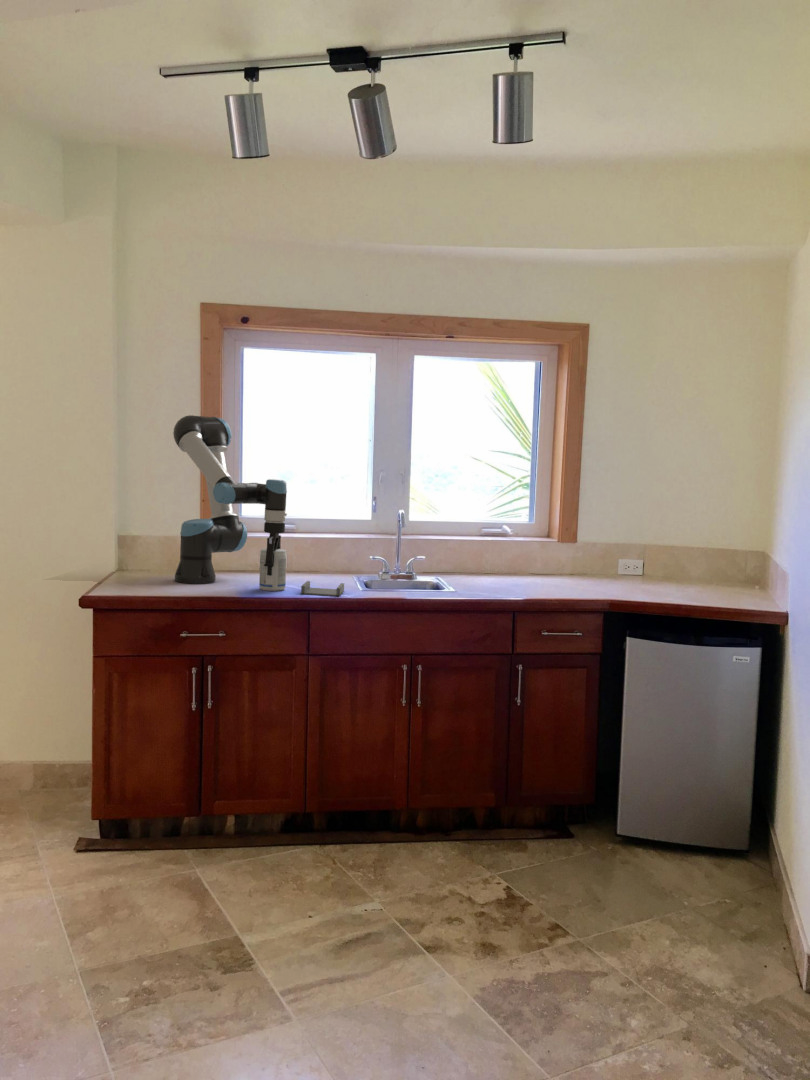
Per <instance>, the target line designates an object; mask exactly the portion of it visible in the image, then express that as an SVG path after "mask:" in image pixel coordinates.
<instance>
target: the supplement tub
mask: <svg viewBox="0 0 810 1080" xmlns="http://www.w3.org/2000/svg"><path fill="white" fill-rule="evenodd" d="M266 551H267V548H261V549H260V555H259V582H258V587H259V589H260V590H262V591H267V592H269V591H271V592H279V591H280V592H281V591H283V590H285V589H286V584H287V583H286V579H287V575H286V574H287V573H286V572H287V550H286V549H284V548H281V549H277V550H276V551H274V583H273V585H272V584H266V566H264V564H265V562H266Z"/></svg>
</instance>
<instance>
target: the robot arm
mask: <svg viewBox="0 0 810 1080" xmlns="http://www.w3.org/2000/svg"><path fill="white" fill-rule="evenodd" d="M172 433H173V439H174V442H175V444H176V445H177V447H178V448H179V450H181V451H182V452H183V453H186V454H187V455H188V456H189V458H190V459H191V461H192V462H193V463H194V464H195V465H196V467H197V468H198V469H199V471H200V472H201V473H202V475H203V476H204V478H205V482H206V488H207V495H208V501H209V508H210V512H211V513H210V514H211V515H210V517H209V518H194V519H193V518H192V519H188V520H185V521H183V522H182V523H181V527H180V534H179V535H180V549H179V550H180V551H179V553H180V555H179V556H180V557H179V559H180V560H179V562H178V565H177V567H176V570H175V574H174V582H176V583H183V584H191V585H192V584H194V585H195V584H196V585H197V584H200V585H201V584H213V583H215V582H216V579H217V577H216V572H215V568H214V566H213V563H212V555H213V554H214V553H216V554H217V553H233V552H238V551H240V550H242V549H243V548H244V546H245V544H246V543H247V540H248V529H247V526H246V525H245V523H243V522H242V521H240V519H239V518H240V517H239V515H238V514H237V513H236V512H235V511H234V507H233V505H234V504H247V505H248V504H249V505H250V504H253V505H255V504H257V505H264V506H265V507H264V517H263V518H264V519H263V520H264V524H263V525H264V526H263V531H264V533H268V534H269V537H267V538H266V543H267V544H266V549H267V551H266V562H265V564H264V566H266V584H272V585H273V583H274V551H276V550H277V549H282V548H281V542H282V541H281V539H282V535H281V534H284V533H285V531H286V524H285V521H286V517H287V515H288V513H286V505H287V492H288V489H287V482H286V480H283V479H271V478H270V479H266V481H265V483H258V482H246V483H245V482H240V483H239V482H236V481H235V479H234V478H233V477H232V476H231V475H230V474H229V472H228V469H227V468H228V466H227V462H226V457H225V454H226V452H227V450H228V446H229V445H230V443H231V441H232V430H231V427H230V425H229V423H228V421H226V420H225V419H223V418H220V417H216V416H201V415H191V414H190V415H185V416H183V417H182V418H180V419H178V420H177V422H176V424H174V428H173V432H172ZM212 553H213V554H212Z"/></svg>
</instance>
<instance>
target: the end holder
mask: <svg viewBox="0 0 810 1080" xmlns="http://www.w3.org/2000/svg"><path fill="white" fill-rule="evenodd" d="M300 588H301V590H300V595H306V596H307V595H308V596H324V597H325V596H326V597H339V596H340V595H342V594H343V593H344V592H345V583H340V584H339V585H338V586H336V588H323V587H321V588H320V587H311V580H306V581H305V583H303V584H302V585H301V587H300ZM340 597H341V596H340ZM340 597H339V598H340Z"/></svg>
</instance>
